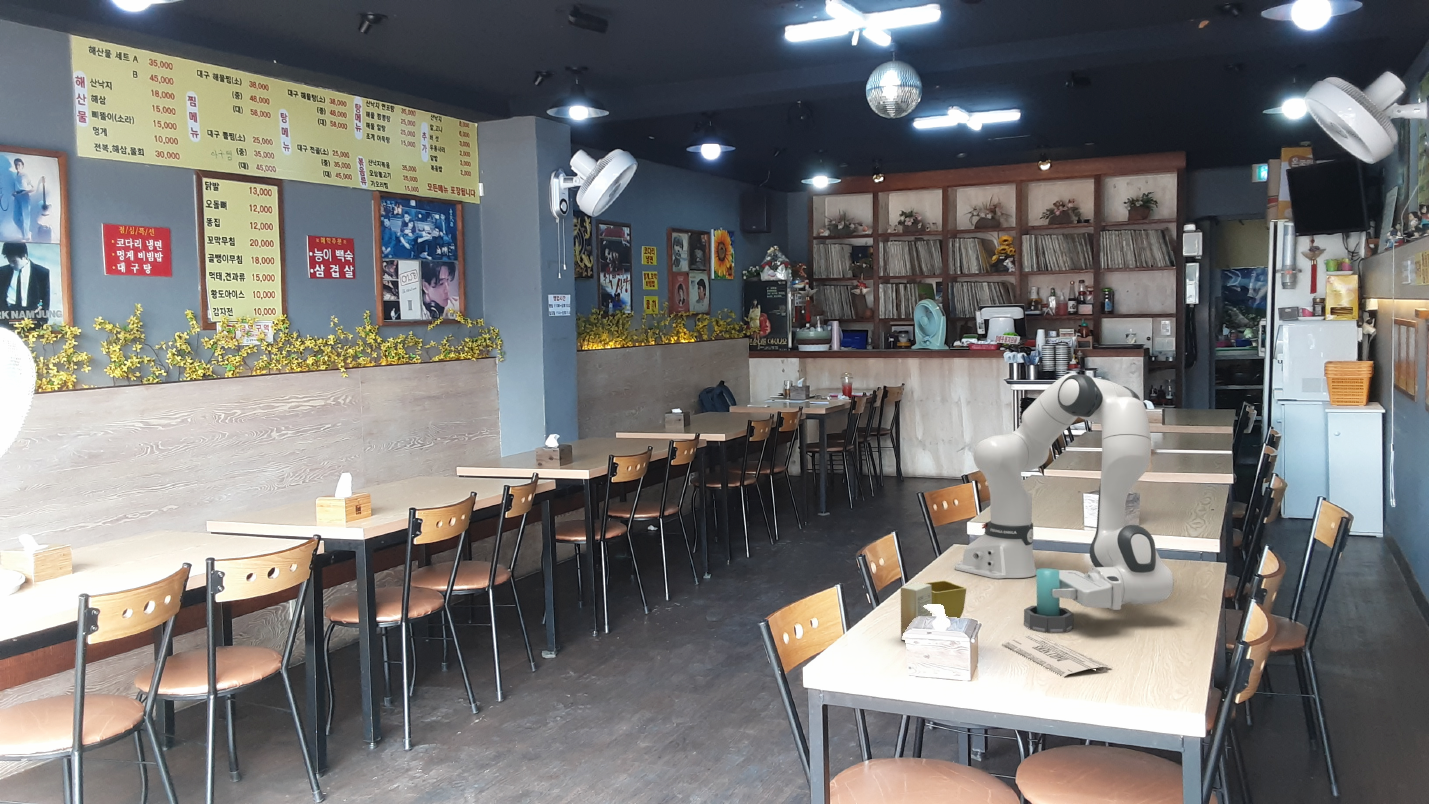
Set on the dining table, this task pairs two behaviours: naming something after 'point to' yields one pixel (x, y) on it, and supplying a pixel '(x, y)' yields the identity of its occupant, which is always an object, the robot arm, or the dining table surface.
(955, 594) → the flower pot
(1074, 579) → the robot arm
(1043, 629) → the barrel ring
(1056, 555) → the dining table surface
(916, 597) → the skincare box
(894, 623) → the dining table surface
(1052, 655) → the newspaper
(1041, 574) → the teal pillar candle
